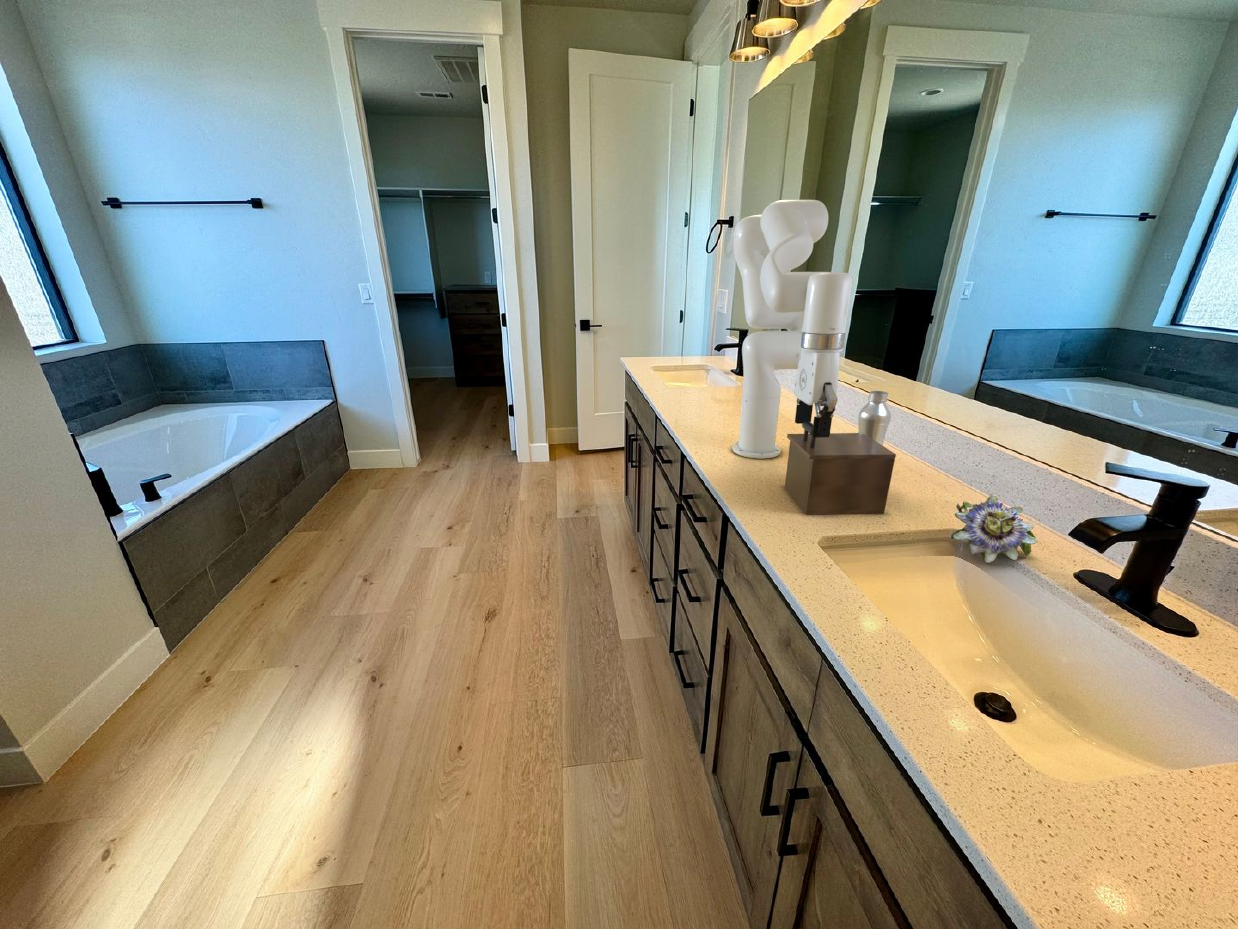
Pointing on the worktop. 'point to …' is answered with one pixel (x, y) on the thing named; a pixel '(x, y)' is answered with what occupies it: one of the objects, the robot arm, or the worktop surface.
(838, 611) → the worktop surface
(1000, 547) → the passion flower
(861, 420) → the silver metal bottle
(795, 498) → the chest
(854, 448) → the lid
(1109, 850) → the worktop surface
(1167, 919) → the worktop surface
